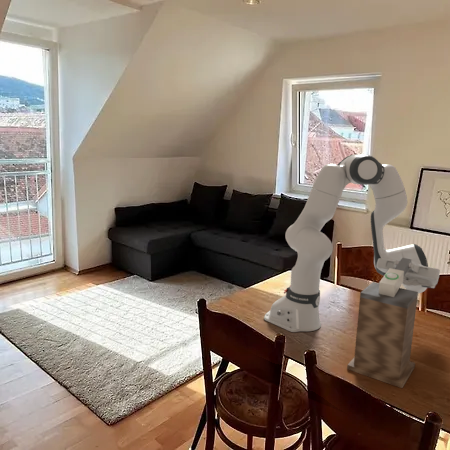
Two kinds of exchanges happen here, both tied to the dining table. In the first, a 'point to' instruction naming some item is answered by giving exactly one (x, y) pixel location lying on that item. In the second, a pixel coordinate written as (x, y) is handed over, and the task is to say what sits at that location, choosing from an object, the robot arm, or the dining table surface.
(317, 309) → the robot arm
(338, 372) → the dining table surface
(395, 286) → the block
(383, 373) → the stand
